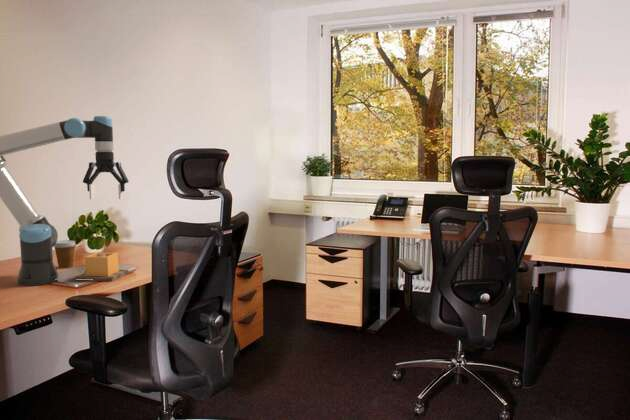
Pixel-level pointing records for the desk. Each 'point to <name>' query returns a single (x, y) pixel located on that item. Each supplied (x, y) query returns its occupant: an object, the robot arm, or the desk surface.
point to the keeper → (104, 278)
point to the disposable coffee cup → (65, 253)
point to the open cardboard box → (101, 264)
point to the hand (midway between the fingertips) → (106, 198)
